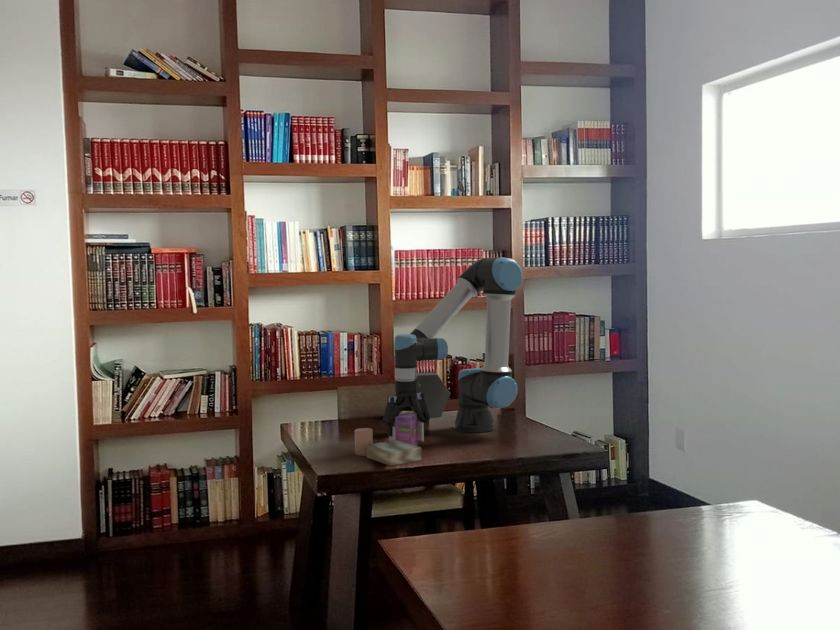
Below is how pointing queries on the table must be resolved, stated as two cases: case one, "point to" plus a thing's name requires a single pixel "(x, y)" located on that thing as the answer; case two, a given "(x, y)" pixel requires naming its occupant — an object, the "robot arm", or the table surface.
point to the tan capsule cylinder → (363, 440)
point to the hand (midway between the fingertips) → (406, 443)
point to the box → (406, 427)
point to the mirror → (393, 452)
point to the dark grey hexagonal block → (432, 393)
